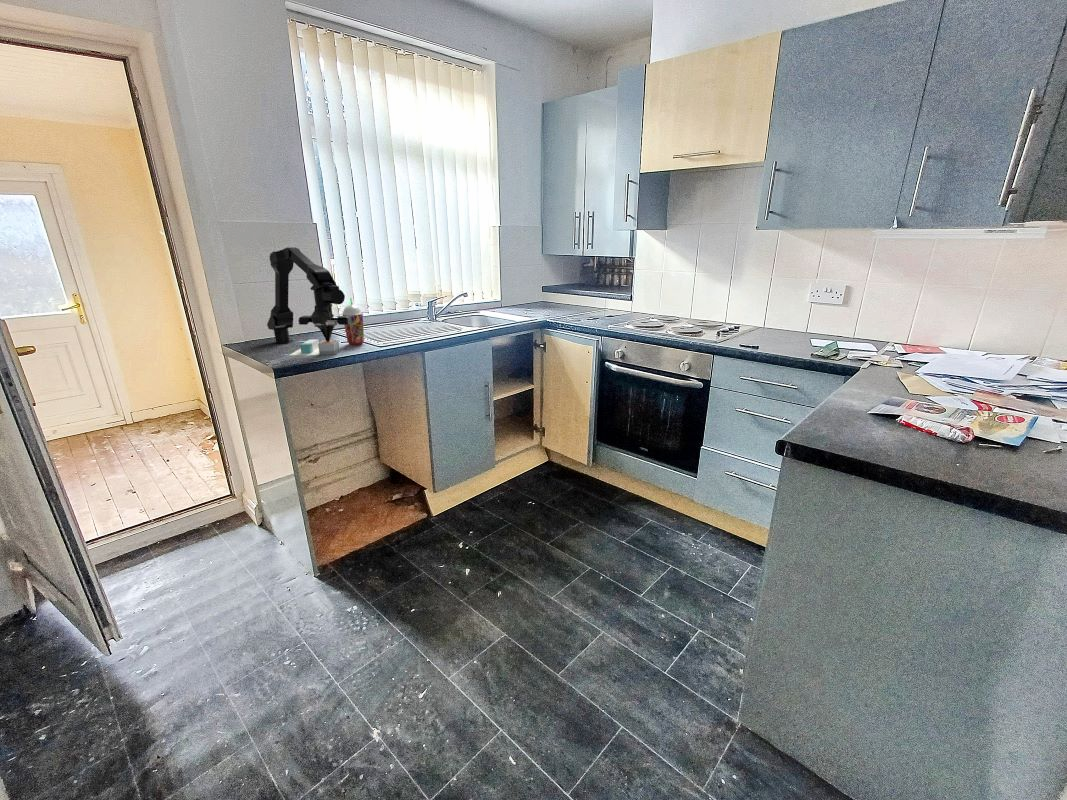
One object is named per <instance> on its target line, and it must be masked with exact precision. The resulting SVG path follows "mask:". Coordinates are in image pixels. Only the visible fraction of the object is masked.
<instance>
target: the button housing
mask: <svg viewBox="0 0 1067 800" xmlns="http://www.w3.org/2000/svg"><path fill="white" fill-rule="evenodd" d="M325 340H326V339H325ZM325 340H321V341H320V342H319V343H318V347H319V355H321V356H322V355H325V356H326V355H329V356H330V355H334V356H335V355H336V354H338V353H339V352H340V349H341V348H340V342H339V340H335V342H334V343H321V342H323V341H325Z"/></svg>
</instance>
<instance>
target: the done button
mask: <svg viewBox="0 0 1067 800" xmlns="http://www.w3.org/2000/svg"><path fill="white" fill-rule="evenodd" d="M322 341H323V340H322ZM322 341H320V342H321V343H334V342H335V340H334V339H333V340H331V339H330V341H329V342H327V341H326V339H325V341H323V342H322Z"/></svg>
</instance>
